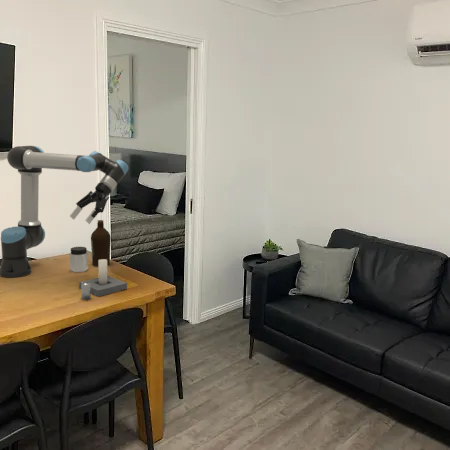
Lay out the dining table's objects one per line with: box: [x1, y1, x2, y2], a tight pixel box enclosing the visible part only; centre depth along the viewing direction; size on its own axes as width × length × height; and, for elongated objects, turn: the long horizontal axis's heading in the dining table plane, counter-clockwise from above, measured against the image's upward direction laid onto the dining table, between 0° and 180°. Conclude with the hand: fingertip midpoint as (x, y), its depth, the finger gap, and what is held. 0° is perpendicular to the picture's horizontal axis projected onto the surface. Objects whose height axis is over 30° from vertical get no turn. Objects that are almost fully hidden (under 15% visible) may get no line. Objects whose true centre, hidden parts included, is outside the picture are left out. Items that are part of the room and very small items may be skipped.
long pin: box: [97, 259, 108, 285], centre depth 227 cm, size 4×4×14 cm
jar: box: [69, 246, 89, 273], centre depth 255 cm, size 9×8×12 cm
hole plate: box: [78, 275, 128, 298], centre depth 228 cm, size 16×16×3 cm
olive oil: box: [90, 219, 112, 267], centre depth 266 cm, size 11×11×25 cm
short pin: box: [80, 282, 92, 301], centre depth 214 cm, size 4×4×7 cm
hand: (79, 219), depth 229 cm, fingers open, 13 cm apart
